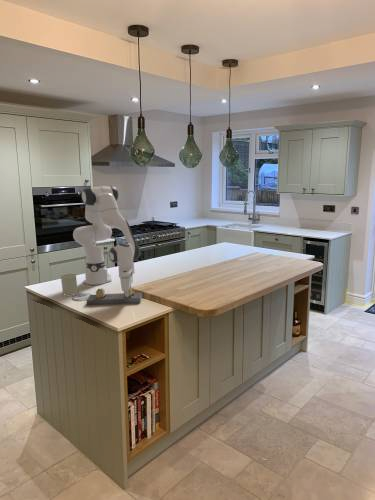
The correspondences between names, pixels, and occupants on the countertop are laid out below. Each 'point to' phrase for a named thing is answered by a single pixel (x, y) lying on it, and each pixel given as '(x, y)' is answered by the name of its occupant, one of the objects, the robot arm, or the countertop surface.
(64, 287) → the glass tumbler
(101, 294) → the tan square peg
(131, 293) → the wooden post chunk
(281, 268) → the countertop surface
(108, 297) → the grey peg hole board
